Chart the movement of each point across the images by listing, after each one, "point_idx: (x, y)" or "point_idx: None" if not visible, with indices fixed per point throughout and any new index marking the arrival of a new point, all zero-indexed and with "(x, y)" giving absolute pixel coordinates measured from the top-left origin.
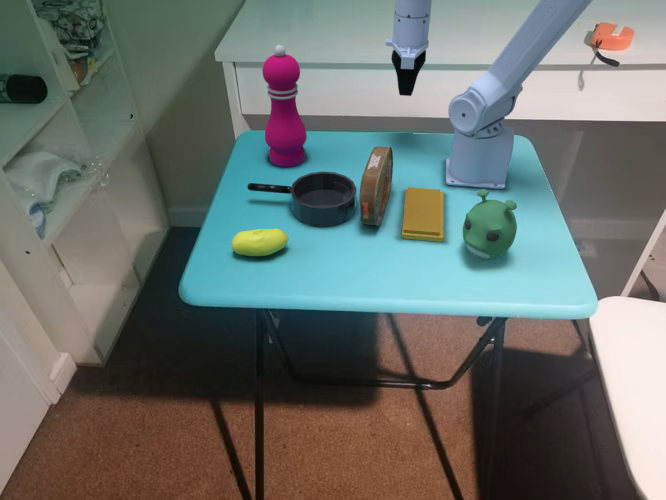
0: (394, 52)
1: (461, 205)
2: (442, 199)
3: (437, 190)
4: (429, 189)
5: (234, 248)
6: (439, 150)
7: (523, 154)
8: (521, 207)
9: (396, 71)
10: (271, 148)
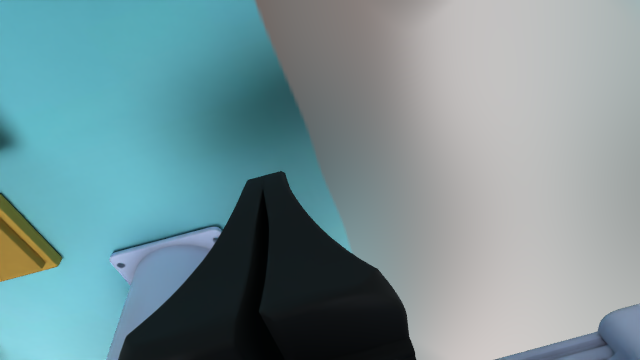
0: (300, 324)
1: (58, 290)
2: (23, 274)
3: (33, 266)
4: (20, 253)
5: None
6: None
7: None
8: None
9: (186, 281)
10: None
